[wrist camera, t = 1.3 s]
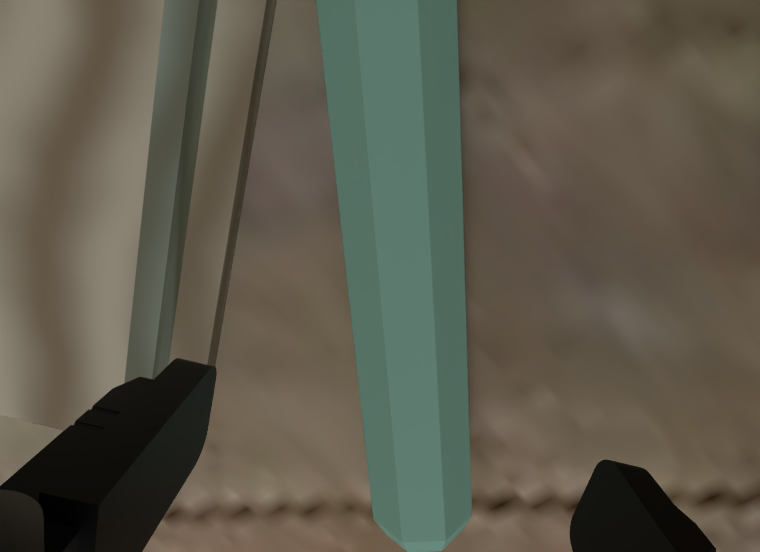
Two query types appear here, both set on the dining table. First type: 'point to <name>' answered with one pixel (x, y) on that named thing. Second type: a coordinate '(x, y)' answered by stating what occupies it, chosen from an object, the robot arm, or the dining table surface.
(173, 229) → the rail
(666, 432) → the dining table surface
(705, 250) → the dining table surface
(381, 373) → the teal green cylinder
